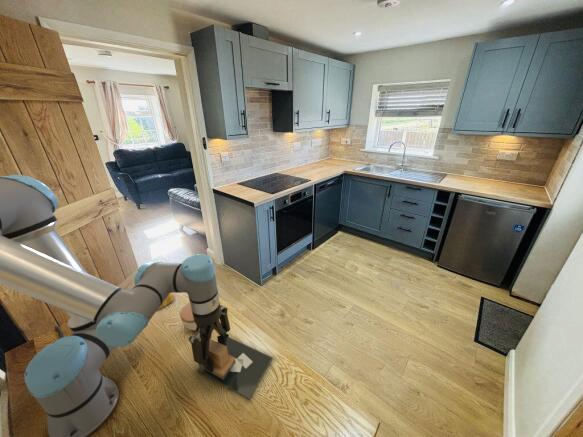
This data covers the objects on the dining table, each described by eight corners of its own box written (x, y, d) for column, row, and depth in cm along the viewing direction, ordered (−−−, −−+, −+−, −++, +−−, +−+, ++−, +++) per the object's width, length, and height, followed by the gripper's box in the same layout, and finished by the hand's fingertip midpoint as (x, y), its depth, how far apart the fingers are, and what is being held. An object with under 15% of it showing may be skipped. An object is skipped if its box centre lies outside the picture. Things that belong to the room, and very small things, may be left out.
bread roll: (177, 299, 107) (175, 292, 105) (157, 312, 100) (155, 305, 98) (167, 292, 111) (165, 285, 109) (147, 303, 104) (145, 296, 102)
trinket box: (216, 314, 99) (213, 297, 95) (205, 336, 89) (201, 318, 85) (191, 312, 100) (187, 295, 96) (178, 334, 90) (173, 316, 86)
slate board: (198, 370, 78) (197, 369, 77) (226, 337, 89) (225, 335, 89) (249, 399, 70) (249, 398, 70) (272, 359, 82) (272, 357, 81)
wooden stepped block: (199, 366, 76) (194, 348, 73) (212, 350, 81) (208, 333, 78) (223, 379, 72) (220, 361, 69) (235, 362, 77) (233, 344, 74)
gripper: (189, 337, 57) (204, 394, 67) (237, 288, 73) (243, 340, 82) (167, 326, 60) (184, 383, 70) (218, 281, 76) (226, 332, 85)
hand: (216, 360), depth 76 cm, fingers closed on wooden stepped block, 6 cm apart
